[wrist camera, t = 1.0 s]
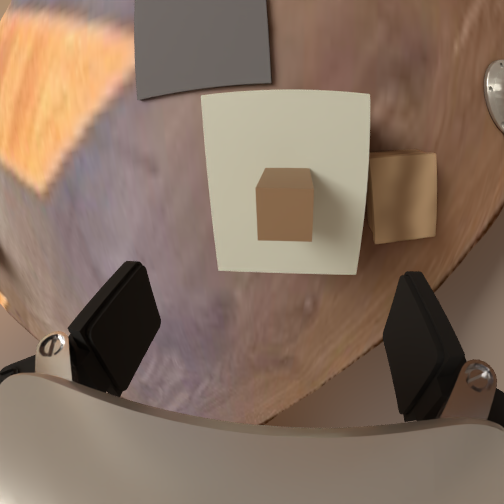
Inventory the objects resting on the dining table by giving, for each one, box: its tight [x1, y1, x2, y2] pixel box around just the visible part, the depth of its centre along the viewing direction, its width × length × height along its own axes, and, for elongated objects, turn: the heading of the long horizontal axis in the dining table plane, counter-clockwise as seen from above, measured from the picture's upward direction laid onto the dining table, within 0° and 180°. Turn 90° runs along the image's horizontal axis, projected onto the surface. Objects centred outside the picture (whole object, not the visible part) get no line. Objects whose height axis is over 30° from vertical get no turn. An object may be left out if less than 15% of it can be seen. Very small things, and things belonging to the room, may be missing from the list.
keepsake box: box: [366, 149, 437, 244], centre depth 31 cm, size 9×11×5 cm
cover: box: [201, 90, 370, 275], centre depth 26 cm, size 13×16×20 cm
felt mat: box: [134, 0, 271, 100], centre depth 26 cm, size 18×20×1 cm
